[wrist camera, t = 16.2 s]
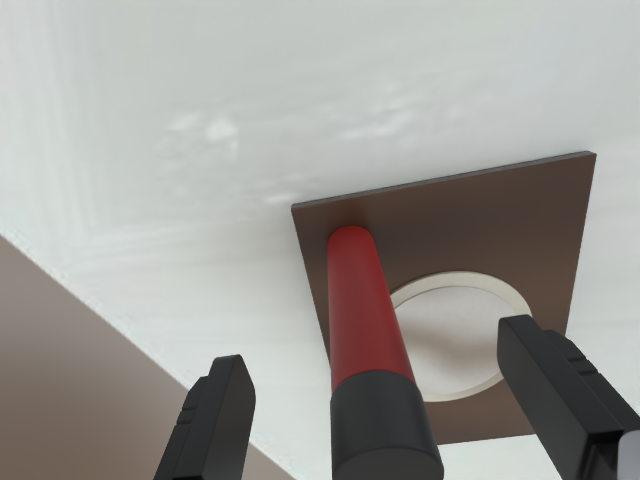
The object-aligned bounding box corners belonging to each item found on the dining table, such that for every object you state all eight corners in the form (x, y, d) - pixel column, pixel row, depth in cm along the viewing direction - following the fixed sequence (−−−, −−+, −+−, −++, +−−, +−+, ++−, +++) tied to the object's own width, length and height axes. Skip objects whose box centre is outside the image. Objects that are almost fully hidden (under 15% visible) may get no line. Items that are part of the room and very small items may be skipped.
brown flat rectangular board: (291, 204, 17) (290, 211, 16) (588, 150, 16) (602, 155, 15) (351, 447, 26) (352, 459, 25) (543, 424, 25) (551, 437, 24)
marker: (321, 228, 17) (322, 453, 7) (372, 219, 17) (444, 439, 7) (330, 270, 18) (342, 515, 8) (378, 263, 18) (446, 504, 8)
